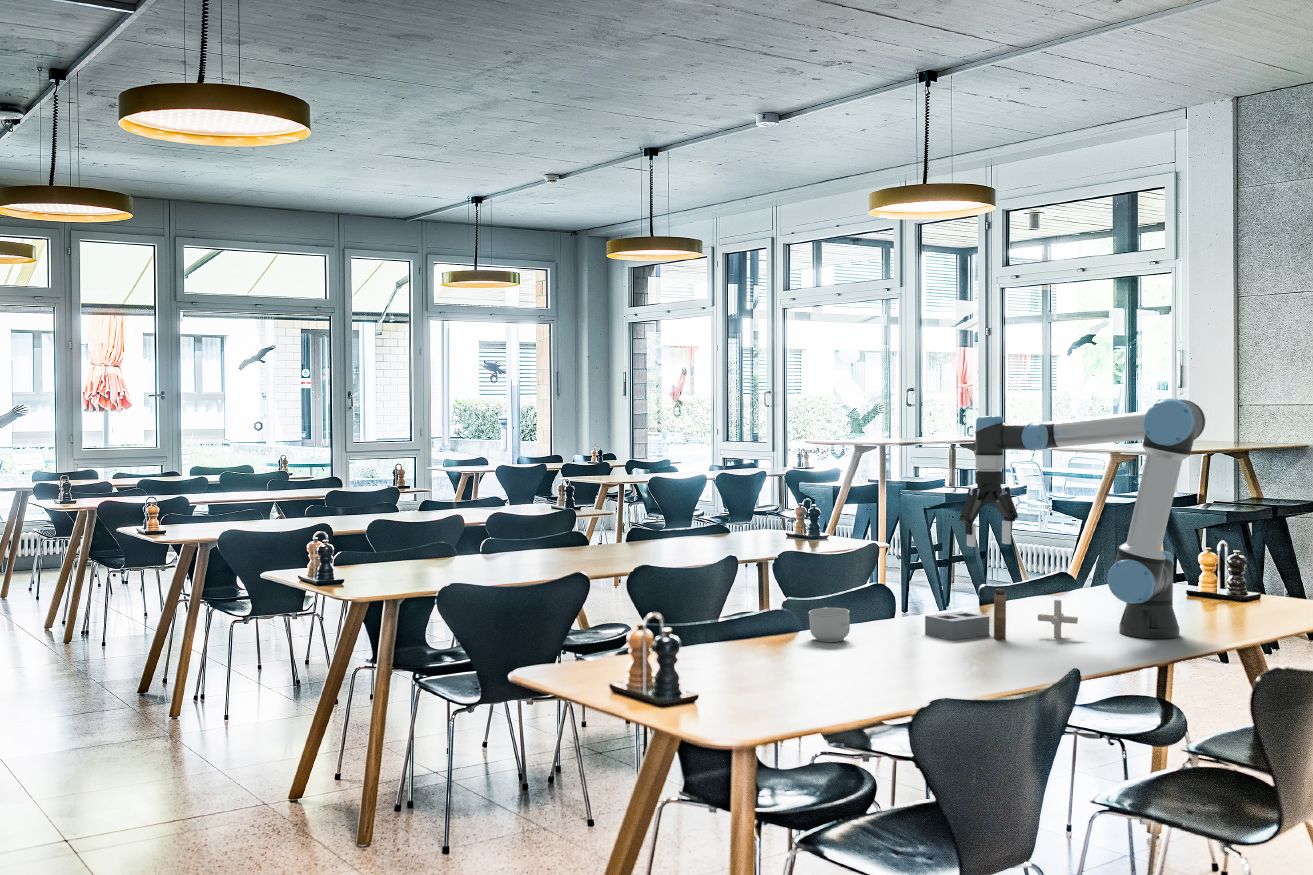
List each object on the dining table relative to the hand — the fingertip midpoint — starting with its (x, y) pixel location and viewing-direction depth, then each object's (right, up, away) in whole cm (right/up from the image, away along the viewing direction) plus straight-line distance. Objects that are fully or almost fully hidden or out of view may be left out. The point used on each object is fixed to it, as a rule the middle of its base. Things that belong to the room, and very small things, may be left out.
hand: (988, 545), depth 332 cm
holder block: (-13, -23, -14) cm, 30 cm away
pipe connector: (+13, -23, -18) cm, 32 cm away
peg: (-3, -23, -20) cm, 31 cm away
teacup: (-48, -23, -20) cm, 57 cm away
